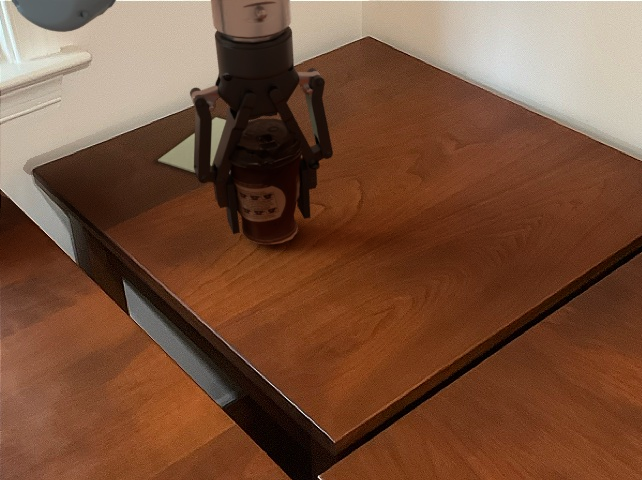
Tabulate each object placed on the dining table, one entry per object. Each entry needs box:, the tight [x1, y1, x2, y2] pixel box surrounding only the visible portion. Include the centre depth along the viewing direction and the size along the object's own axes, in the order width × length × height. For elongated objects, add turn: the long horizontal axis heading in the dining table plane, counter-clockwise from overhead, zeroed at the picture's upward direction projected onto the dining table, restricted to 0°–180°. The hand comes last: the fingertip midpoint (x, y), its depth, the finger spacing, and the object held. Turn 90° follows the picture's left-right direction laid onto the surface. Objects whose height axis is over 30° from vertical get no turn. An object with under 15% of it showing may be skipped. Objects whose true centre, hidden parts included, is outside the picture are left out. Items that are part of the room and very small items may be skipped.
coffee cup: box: [228, 117, 303, 245], centre depth 91 cm, size 9×8×13 cm
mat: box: [157, 116, 230, 174], centre depth 110 cm, size 13×13×1 cm
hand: (269, 219), depth 94 cm, fingers closed on coffee cup, 8 cm apart
